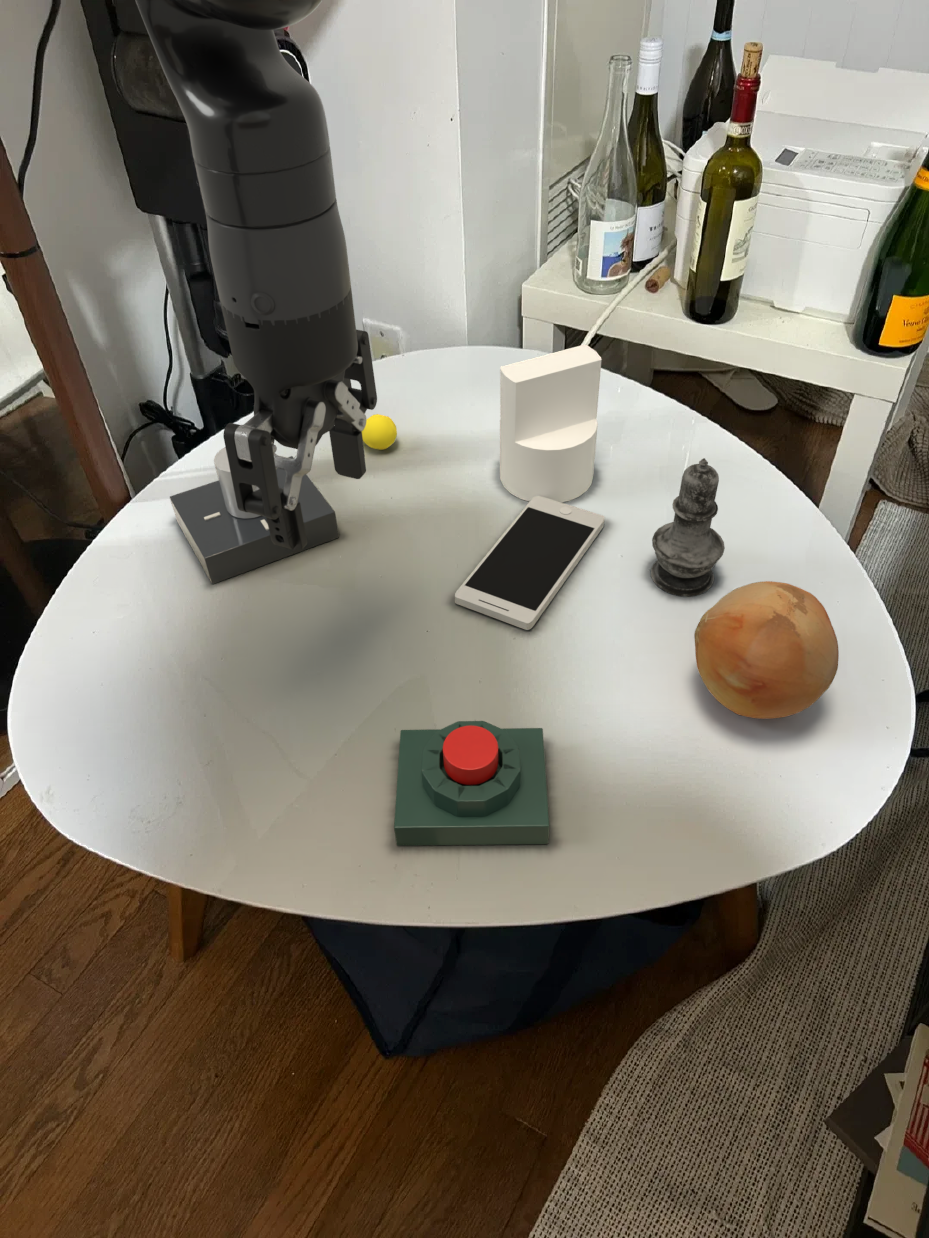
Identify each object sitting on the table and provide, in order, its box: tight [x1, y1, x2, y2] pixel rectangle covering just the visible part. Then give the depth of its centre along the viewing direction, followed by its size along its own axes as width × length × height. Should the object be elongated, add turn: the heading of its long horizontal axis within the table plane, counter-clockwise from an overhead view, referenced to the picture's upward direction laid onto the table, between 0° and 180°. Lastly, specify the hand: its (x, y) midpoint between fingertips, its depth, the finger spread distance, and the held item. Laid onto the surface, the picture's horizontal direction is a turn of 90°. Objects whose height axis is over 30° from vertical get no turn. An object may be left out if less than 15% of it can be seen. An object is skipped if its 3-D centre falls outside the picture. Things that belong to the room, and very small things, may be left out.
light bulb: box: [362, 413, 398, 451], centre depth 93 cm, size 3×6×4 cm, turn 57°
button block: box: [393, 720, 550, 847], centre depth 62 cm, size 10×8×4 cm
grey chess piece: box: [650, 457, 726, 597], centre depth 74 cm, size 6×6×12 cm
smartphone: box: [454, 495, 606, 631], centre depth 80 cm, size 7×15×1 cm, turn 151°
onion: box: [693, 580, 840, 720], centre depth 66 cm, size 10×10×10 cm
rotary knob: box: [213, 446, 261, 519], centre depth 80 cm, size 4×4×5 cm
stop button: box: [443, 726, 498, 785], centre depth 60 cm, size 4×4×2 cm
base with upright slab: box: [499, 344, 603, 503], centre depth 85 cm, size 9×9×12 cm
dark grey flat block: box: [169, 455, 340, 585], centre depth 83 cm, size 12×10×3 cm
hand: (322, 509), depth 64 cm, fingers open, 8 cm apart
